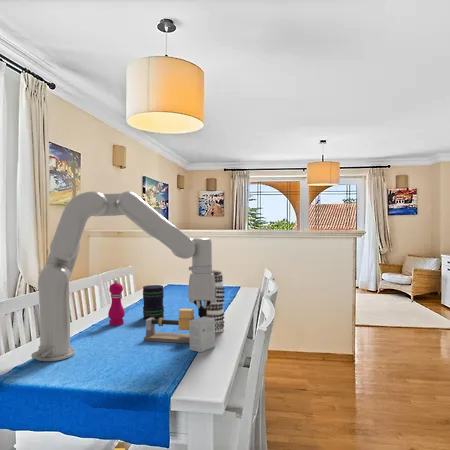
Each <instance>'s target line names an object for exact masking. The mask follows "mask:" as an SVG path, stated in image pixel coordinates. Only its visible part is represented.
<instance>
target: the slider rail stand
mask: <svg viewBox="0 0 450 450" xmlns="http://www.w3.org/2000/svg"><path fill="white" fill-rule="evenodd" d="M155 325H158V326H159V327H163V326H164V325H166V326H167V325H169V326H179V321H178V319H177V320H176V319H164V318H159V319H155V318H148V319H147V320H145V336H144V337H143V341H144V342H160V343H161V342H162V343H163V342H164V343H177V344H178V343H180V344H190V333H177V332H160V331H158V332H157V331H156V330H155V329H156V328H155Z"/></svg>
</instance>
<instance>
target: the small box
mask: <svg viewBox="0 0 450 450" xmlns="http://www.w3.org/2000/svg"><path fill="white" fill-rule="evenodd" d="M188 331H189V333H188V334H190V343H189V350H191V351H195V352H198V353H203V352H205V351H209V350H211V349H212V348H215V347H216V332H215V319H214V318H209V317H201V318H200V317H198V318H194V320H190V321H189V330H188Z"/></svg>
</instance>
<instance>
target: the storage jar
mask: <svg viewBox="0 0 450 450" xmlns="http://www.w3.org/2000/svg"><path fill="white" fill-rule="evenodd" d="M164 294H165V293H164V286H163V285H160V284H151V285H150V284H148V285H144V286H142V299H143V307H142V315H143V320H145V321H146V320H147V319H148V318H155V319H159V318H163V319H164V314H165V313H164V312H165V310H164V308H165V307H164Z"/></svg>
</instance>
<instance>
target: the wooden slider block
mask: <svg viewBox="0 0 450 450" xmlns="http://www.w3.org/2000/svg"><path fill="white" fill-rule="evenodd" d="M194 319H195V311H194V308H180V309H179V310H178V319H177V320H178V321H179V325H178V331H189V321H190V320H194Z"/></svg>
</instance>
